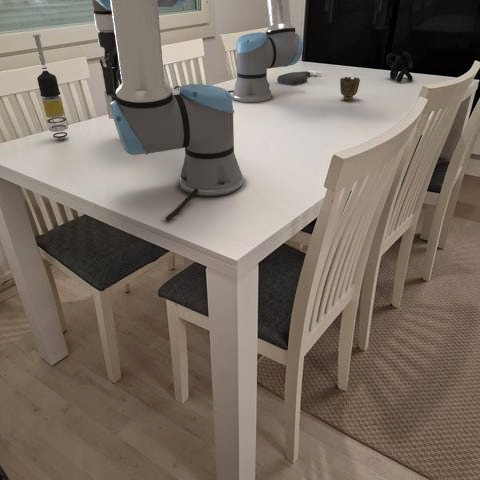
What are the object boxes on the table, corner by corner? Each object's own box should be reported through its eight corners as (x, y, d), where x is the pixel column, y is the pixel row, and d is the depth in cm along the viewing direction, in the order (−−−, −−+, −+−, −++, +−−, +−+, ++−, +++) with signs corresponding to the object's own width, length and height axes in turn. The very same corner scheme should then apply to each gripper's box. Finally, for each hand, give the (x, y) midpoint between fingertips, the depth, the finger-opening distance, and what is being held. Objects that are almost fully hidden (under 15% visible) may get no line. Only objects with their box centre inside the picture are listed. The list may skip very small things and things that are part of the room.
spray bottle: (274, 82, 200) (304, 73, 216) (295, 86, 194) (324, 76, 210) (275, 75, 198) (304, 67, 214) (295, 78, 192) (324, 70, 208)
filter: (71, 140, 139) (47, 35, 123) (52, 143, 137) (25, 36, 121) (69, 135, 143) (46, 33, 127) (51, 137, 141) (25, 34, 126)
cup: (335, 101, 172) (337, 79, 168) (341, 96, 178) (343, 75, 173) (354, 103, 169) (357, 81, 165) (359, 98, 175) (362, 77, 170)
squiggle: (400, 92, 202) (376, 71, 205) (417, 76, 202) (392, 56, 205) (405, 81, 191) (380, 59, 194) (423, 64, 191) (397, 42, 194)
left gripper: (108, 35, 114) (122, 125, 126) (137, 26, 129) (147, 107, 141) (81, 35, 115) (98, 123, 128) (113, 26, 130) (125, 106, 143)
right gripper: (405, -60, 127) (393, 22, 139) (319, -57, 135) (314, 21, 146) (404, -60, 121) (391, 25, 133) (313, -58, 129) (309, 24, 140)
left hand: (123, 115), depth 134 cm, fingers closed on bar, 5 cm apart
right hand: (351, 23), depth 139 cm, fingers open, 13 cm apart
